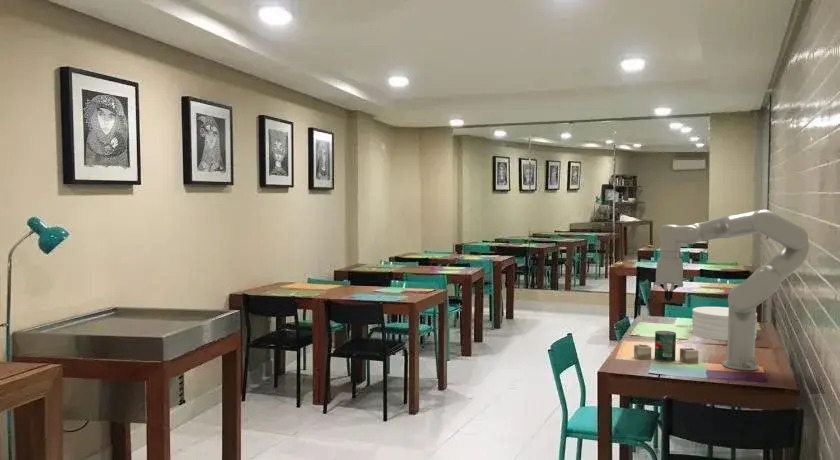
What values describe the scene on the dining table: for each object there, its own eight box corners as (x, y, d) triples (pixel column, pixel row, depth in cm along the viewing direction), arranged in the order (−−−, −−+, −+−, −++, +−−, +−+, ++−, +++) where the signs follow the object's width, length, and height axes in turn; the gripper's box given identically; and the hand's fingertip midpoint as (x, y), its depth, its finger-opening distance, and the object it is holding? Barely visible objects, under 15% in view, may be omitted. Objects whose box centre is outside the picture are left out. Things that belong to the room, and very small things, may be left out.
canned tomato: (650, 358, 265) (650, 331, 264) (665, 356, 267) (666, 330, 267) (663, 362, 257) (664, 335, 257) (679, 361, 260) (680, 333, 259)
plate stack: (737, 343, 293) (737, 318, 293) (680, 333, 316) (680, 309, 315) (767, 336, 310) (768, 312, 309) (711, 327, 332) (712, 304, 332)
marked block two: (651, 359, 262) (651, 347, 262) (639, 360, 262) (639, 347, 262) (645, 356, 267) (645, 344, 267) (633, 357, 267) (634, 344, 267)
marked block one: (698, 363, 257) (698, 350, 257) (686, 363, 256) (686, 350, 256) (691, 360, 262) (692, 347, 262) (679, 360, 261) (680, 347, 261)
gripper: (690, 255, 263) (688, 300, 264) (650, 253, 268) (649, 298, 269) (690, 256, 256) (688, 303, 257) (650, 255, 261) (648, 300, 262)
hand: (668, 300), depth 263 cm, fingers closed
